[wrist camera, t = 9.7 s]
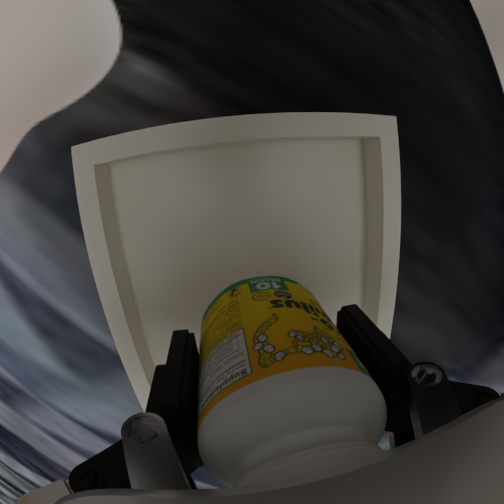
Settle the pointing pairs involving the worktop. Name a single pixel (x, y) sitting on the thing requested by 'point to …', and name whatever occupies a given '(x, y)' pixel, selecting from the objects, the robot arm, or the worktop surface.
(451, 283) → the worktop surface
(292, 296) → the supplement bottle
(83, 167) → the tray
